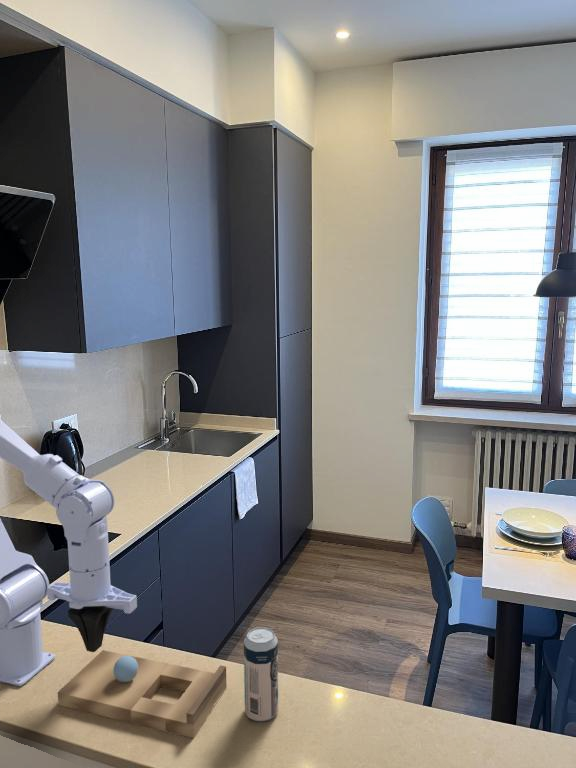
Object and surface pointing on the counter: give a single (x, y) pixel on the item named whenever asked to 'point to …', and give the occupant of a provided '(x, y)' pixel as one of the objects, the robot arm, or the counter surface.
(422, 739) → the counter surface
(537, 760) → the counter surface
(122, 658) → the ball
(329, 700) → the counter surface
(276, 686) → the beer can
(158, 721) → the board
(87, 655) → the counter surface
